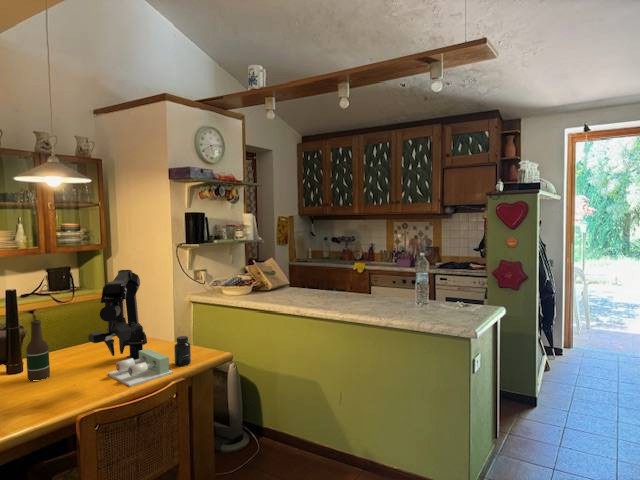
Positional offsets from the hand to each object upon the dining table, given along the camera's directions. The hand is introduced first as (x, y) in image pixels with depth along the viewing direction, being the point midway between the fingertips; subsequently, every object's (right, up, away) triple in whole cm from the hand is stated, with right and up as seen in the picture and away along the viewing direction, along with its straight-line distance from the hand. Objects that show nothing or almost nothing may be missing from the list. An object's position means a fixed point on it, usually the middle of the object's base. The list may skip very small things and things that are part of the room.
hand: (117, 354), depth 170 cm
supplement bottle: (+18, -10, +24) cm, 31 cm away
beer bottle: (-36, -12, +9) cm, 39 cm away
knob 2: (+7, -9, +9) cm, 15 cm away
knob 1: (0, -9, +14) cm, 17 cm away
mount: (+5, -11, +13) cm, 18 cm away
